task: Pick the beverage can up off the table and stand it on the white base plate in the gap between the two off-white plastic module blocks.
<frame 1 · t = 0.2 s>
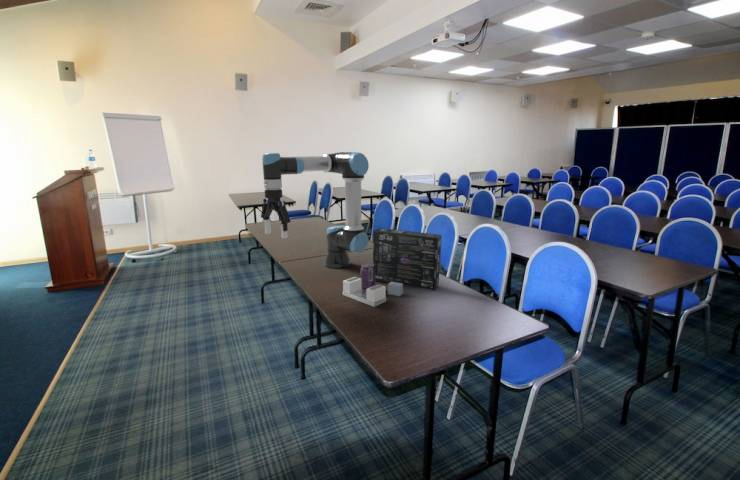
hand: (276, 235, 167), 28 cm above the table, fingers open, 13 cm apart
module b: (376, 302, 163), resting on white base plate
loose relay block: (395, 293, 173), on the table
beverage can: (367, 288, 179), on the table
module a: (352, 293, 173), resting on white base plate
white base plate: (363, 298, 168), on the table
box: (405, 284, 186), on the table
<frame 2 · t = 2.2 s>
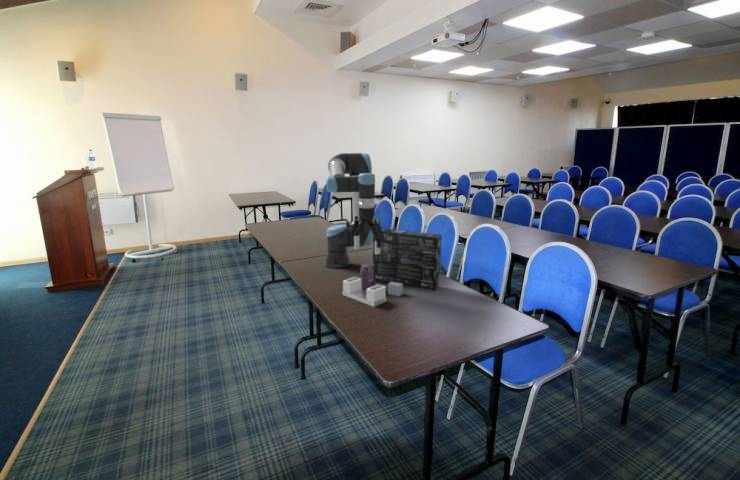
hand: (366, 251, 175), 19 cm above the table, fingers open, 13 cm apart
nothing on the table moved.
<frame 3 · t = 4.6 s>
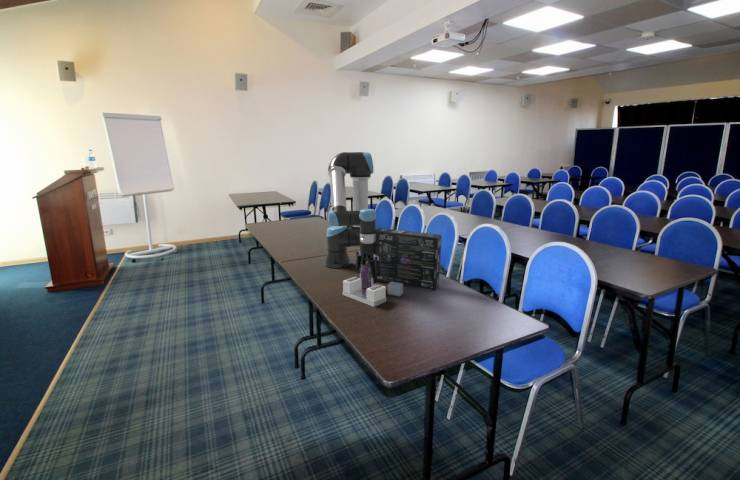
hand: (367, 287, 179), 1 cm above the table, fingers closed on beverage can, 7 cm apart
beverage can: (367, 288, 179), on the table, touching gripper
everything else where it was.
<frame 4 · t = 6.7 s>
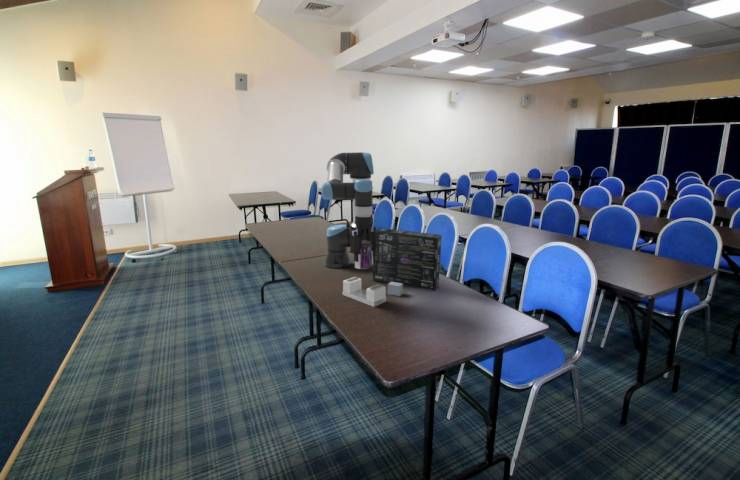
hand: (363, 266, 164), 15 cm above the table, fingers closed on beverage can, 7 cm apart
beverage can: (363, 267, 164), point 14 cm above the table, touching gripper
everything else where it was.
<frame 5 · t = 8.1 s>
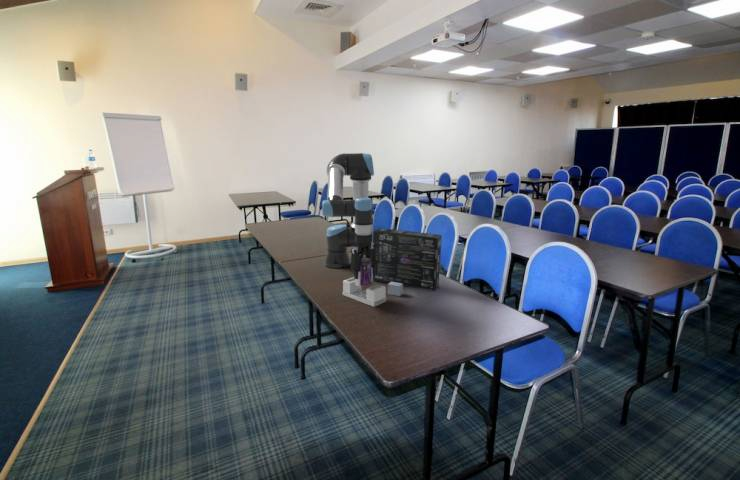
hand: (363, 283, 166), 7 cm above the table, fingers closed on beverage can, 7 cm apart
beverage can: (363, 284, 166), point 7 cm above the table, touching gripper
everything else where it was.
when the fingers open (4 cm above the table, at t = 9.2 s): beverage can stays where it is, resting on white base plate.
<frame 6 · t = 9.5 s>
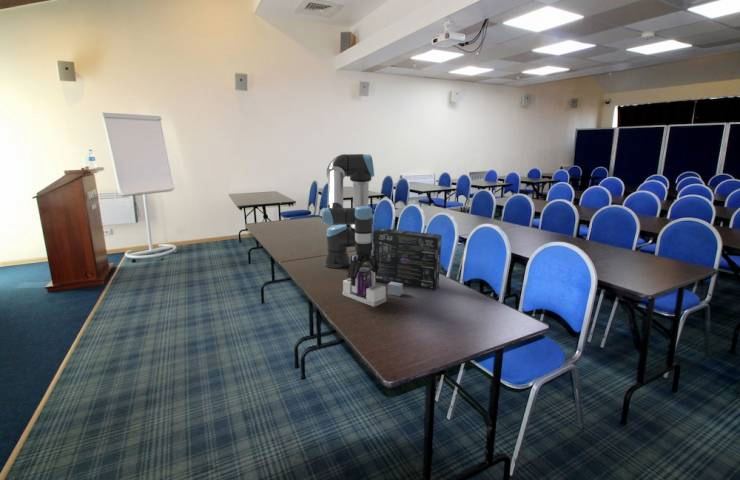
hand: (363, 288, 167), 5 cm above the table, fingers open, 11 cm apart
beverage can: (363, 294, 167), point 2 cm above the table, touching white base plate
everything else where it was.
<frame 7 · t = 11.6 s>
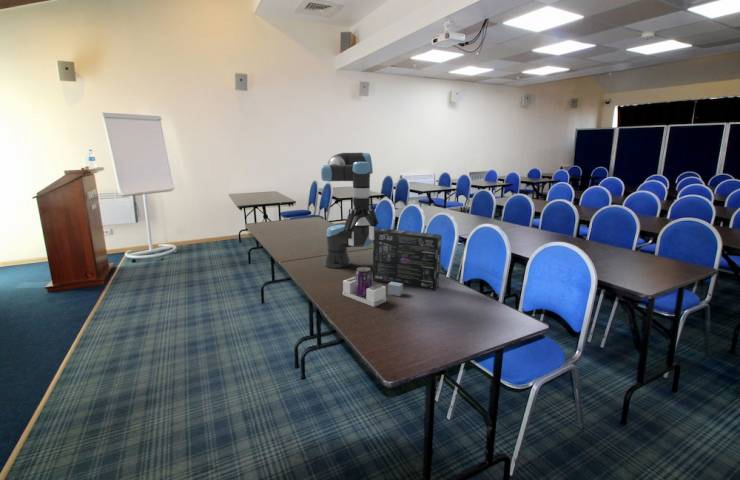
hand: (361, 242, 171), 24 cm above the table, fingers open, 13 cm apart
nothing on the table moved.
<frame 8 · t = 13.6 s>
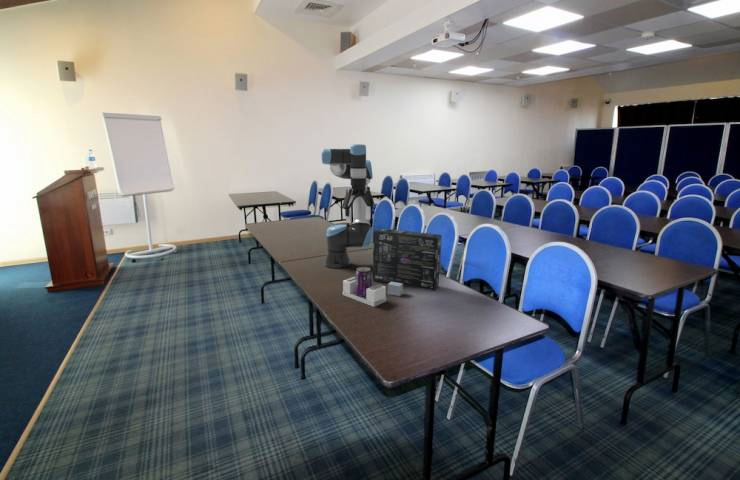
hand: (358, 221, 181), 32 cm above the table, fingers open, 13 cm apart
nothing on the table moved.
at the end: beverage can inside the target area on the white base plate (0.1 cm from its centre), point 1.8 cm above the white base plate's base; beverage can tilted 0°; the gripper is holding nothing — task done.
